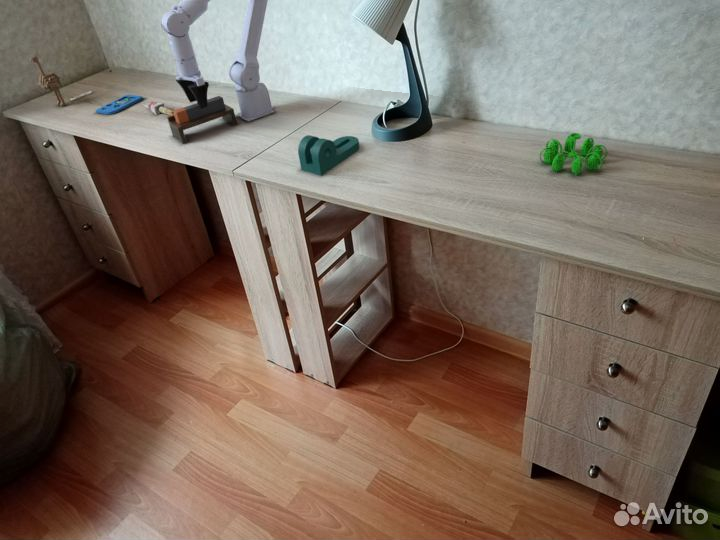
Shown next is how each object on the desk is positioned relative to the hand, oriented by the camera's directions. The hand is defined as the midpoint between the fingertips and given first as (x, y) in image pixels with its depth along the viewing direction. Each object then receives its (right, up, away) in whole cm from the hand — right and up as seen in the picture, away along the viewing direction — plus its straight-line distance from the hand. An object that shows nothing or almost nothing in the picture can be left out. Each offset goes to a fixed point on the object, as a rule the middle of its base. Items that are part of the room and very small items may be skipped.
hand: (198, 104), depth 165 cm
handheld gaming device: (-37, +9, +31) cm, 49 cm away
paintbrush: (-18, +3, +22) cm, 29 cm away
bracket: (+41, -20, -19) cm, 49 cm away
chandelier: (+98, -24, -34) cm, 106 cm away
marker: (0, -3, +2) cm, 3 cm away
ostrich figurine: (-59, +14, +42) cm, 73 cm away
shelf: (+1, -6, +5) cm, 8 cm away
